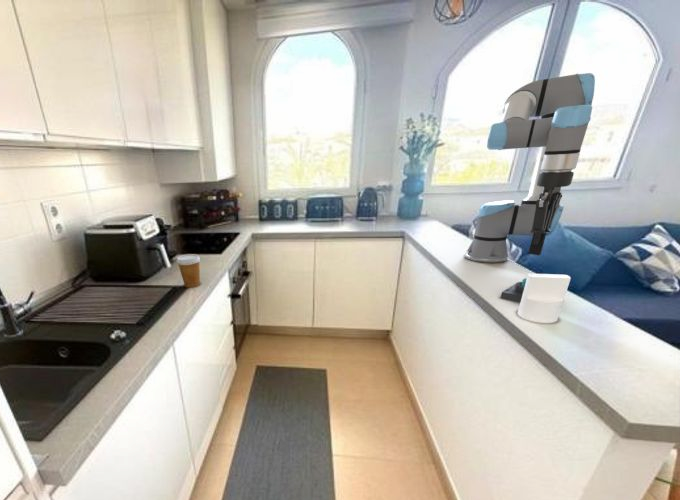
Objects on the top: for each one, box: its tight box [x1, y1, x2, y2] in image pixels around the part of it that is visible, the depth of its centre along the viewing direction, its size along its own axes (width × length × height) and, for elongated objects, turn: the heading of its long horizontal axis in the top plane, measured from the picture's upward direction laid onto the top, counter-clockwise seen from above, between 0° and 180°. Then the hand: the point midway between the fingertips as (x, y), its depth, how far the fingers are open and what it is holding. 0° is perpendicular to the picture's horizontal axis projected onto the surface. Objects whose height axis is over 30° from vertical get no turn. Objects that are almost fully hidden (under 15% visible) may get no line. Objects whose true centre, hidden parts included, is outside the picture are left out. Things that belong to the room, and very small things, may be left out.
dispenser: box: [500, 281, 524, 304], centre depth 108 cm, size 12×10×4 cm
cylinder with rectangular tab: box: [517, 273, 572, 324], centre depth 94 cm, size 9×9×12 cm
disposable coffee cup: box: [176, 253, 201, 288], centre depth 142 cm, size 10×10×12 cm
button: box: [521, 277, 527, 287], centre depth 107 cm, size 4×4×2 cm
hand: (534, 253), depth 104 cm, fingers closed
